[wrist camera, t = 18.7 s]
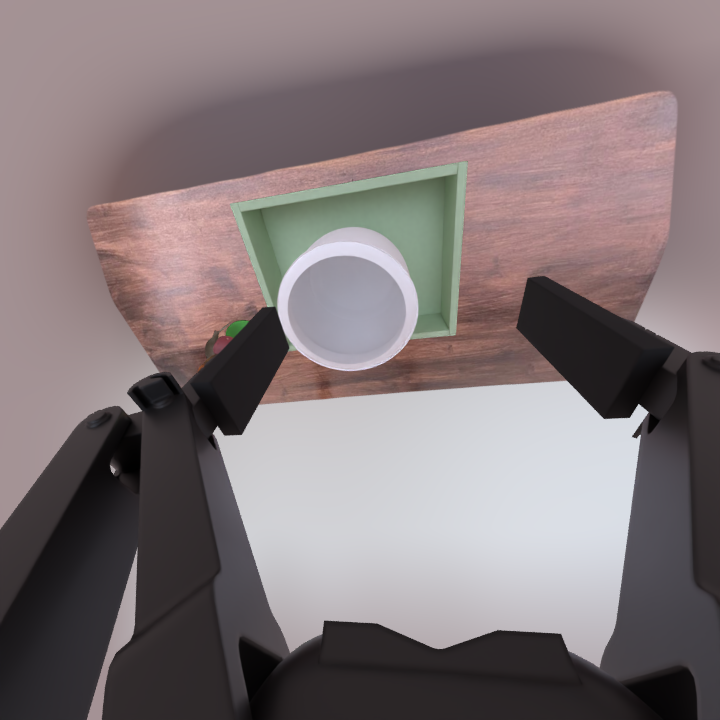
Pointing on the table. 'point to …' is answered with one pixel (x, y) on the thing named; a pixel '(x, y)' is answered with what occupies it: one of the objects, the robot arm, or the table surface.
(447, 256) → the tray
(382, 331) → the jar
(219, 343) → the toy figurine
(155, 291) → the table surface
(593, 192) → the table surface
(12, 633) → the robot arm
